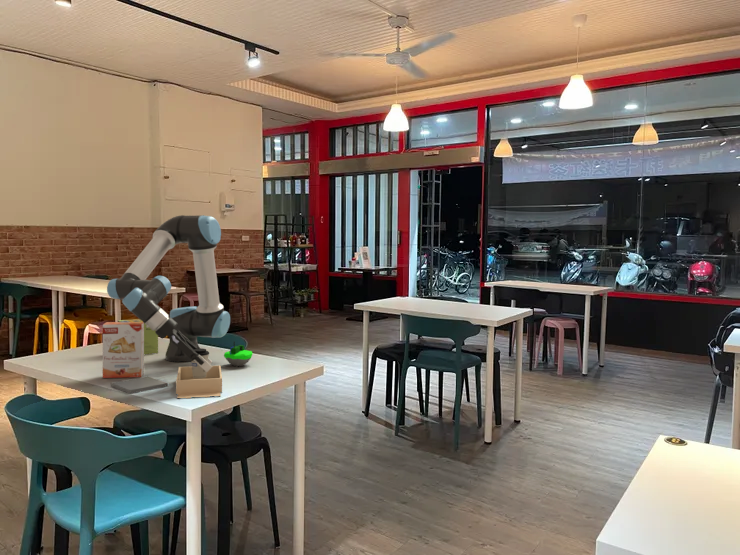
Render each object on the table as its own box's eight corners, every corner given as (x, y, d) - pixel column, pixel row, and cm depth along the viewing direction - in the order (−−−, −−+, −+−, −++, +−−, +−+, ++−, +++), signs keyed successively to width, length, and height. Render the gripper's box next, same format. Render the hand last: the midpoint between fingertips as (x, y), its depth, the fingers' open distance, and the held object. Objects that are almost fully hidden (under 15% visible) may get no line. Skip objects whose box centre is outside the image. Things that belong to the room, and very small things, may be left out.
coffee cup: (207, 373, 206) (207, 347, 205) (211, 378, 200) (211, 350, 199) (188, 375, 203) (187, 348, 202) (191, 380, 197) (191, 352, 196)
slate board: (147, 379, 209) (147, 376, 209) (167, 386, 200) (167, 382, 200) (111, 386, 199) (111, 382, 198) (130, 393, 190) (130, 390, 190)
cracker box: (102, 378, 209) (101, 324, 208) (105, 375, 215) (105, 321, 213) (141, 377, 212) (141, 323, 211) (144, 374, 218) (144, 321, 217)
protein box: (158, 353, 258) (158, 320, 257) (124, 357, 248) (124, 322, 247) (151, 349, 266) (151, 317, 265) (117, 353, 256) (117, 320, 255)
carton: (175, 399, 184) (175, 384, 184) (179, 376, 214) (179, 364, 214) (222, 396, 189) (222, 382, 188) (220, 375, 219) (220, 362, 218)
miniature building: (244, 369, 230) (245, 343, 229) (219, 367, 232) (219, 341, 232) (256, 363, 242) (257, 338, 241) (232, 361, 244) (232, 336, 243)
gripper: (156, 327, 205) (202, 367, 211) (151, 336, 186) (201, 381, 192) (171, 312, 206) (216, 353, 212) (168, 320, 187) (217, 365, 193)
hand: (209, 366), depth 202 cm, fingers closed on coffee cup, 7 cm apart
